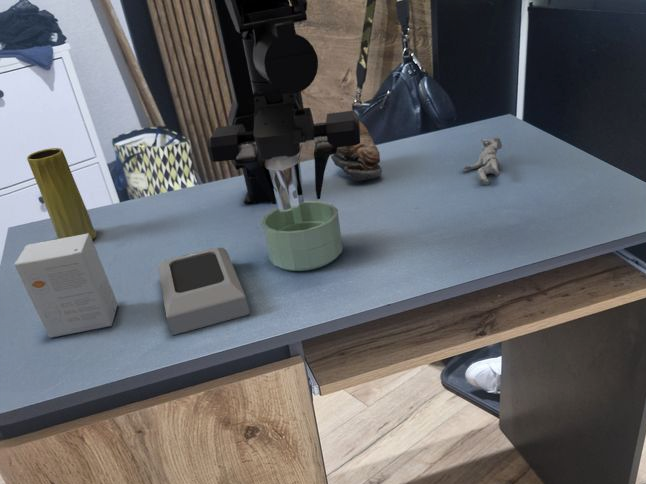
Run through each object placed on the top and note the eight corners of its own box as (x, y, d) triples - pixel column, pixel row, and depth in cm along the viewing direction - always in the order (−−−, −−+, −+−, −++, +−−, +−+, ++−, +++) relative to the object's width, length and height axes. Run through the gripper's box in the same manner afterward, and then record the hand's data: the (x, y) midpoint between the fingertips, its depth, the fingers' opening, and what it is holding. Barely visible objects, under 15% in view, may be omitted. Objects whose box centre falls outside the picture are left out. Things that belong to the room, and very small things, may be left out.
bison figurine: (391, 178, 110) (386, 118, 104) (356, 189, 108) (348, 129, 102) (358, 162, 119) (351, 106, 114) (324, 172, 117) (316, 115, 111)
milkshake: (312, 225, 84) (296, 150, 78) (274, 228, 85) (256, 154, 80) (320, 211, 88) (306, 138, 82) (283, 213, 89) (267, 142, 83)
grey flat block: (163, 309, 74) (154, 258, 86) (172, 335, 76) (162, 282, 89) (243, 288, 76) (223, 240, 88) (250, 314, 78) (230, 264, 90)
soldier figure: (463, 192, 104) (456, 147, 111) (484, 206, 106) (476, 160, 113) (499, 160, 99) (489, 114, 106) (520, 175, 101) (509, 130, 108)
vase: (61, 251, 102) (24, 163, 94) (57, 238, 106) (22, 154, 98) (100, 240, 104) (67, 153, 96) (94, 228, 108) (62, 144, 100)
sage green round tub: (274, 244, 94) (266, 205, 91) (343, 236, 93) (338, 197, 90) (266, 277, 86) (257, 236, 82) (342, 269, 85) (335, 227, 82)
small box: (119, 305, 85) (91, 231, 79) (112, 327, 80) (82, 251, 74) (58, 316, 84) (25, 243, 78) (48, 339, 79) (12, 263, 73)
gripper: (183, 104, 70) (217, 234, 79) (351, 83, 69) (367, 218, 78) (203, 80, 79) (231, 199, 88) (352, 61, 78) (366, 184, 87)
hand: (296, 200), depth 85 cm, fingers closed on milkshake, 6 cm apart
